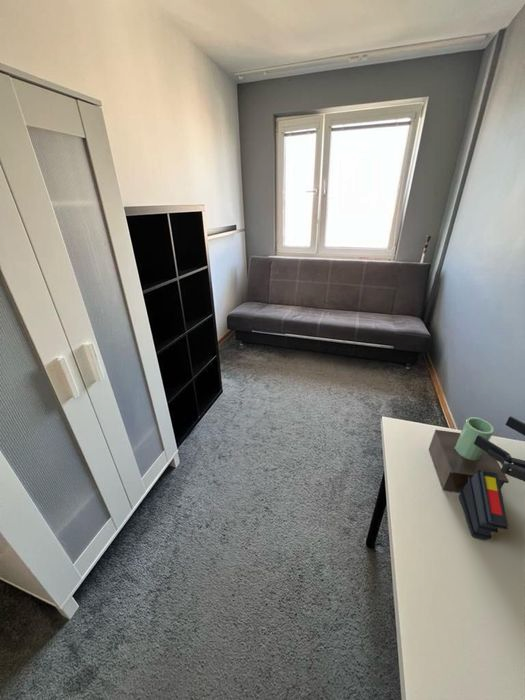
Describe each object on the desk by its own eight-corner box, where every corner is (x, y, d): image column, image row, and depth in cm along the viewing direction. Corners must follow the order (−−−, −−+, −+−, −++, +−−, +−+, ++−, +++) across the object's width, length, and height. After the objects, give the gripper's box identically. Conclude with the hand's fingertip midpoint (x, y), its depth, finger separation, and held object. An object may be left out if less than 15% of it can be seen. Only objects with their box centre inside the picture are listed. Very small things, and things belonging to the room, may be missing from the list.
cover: (507, 483, 70) (509, 481, 70) (451, 474, 73) (452, 472, 72) (481, 437, 83) (482, 435, 83) (434, 431, 86) (435, 429, 85)
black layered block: (470, 485, 76) (498, 472, 64) (479, 541, 69) (512, 538, 57) (455, 482, 77) (480, 468, 66) (461, 537, 70) (491, 533, 58)
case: (494, 499, 74) (506, 480, 71) (442, 490, 77) (450, 471, 74) (472, 456, 87) (481, 437, 83) (428, 449, 90) (434, 431, 86)
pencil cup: (475, 445, 80) (488, 418, 75) (484, 462, 75) (498, 435, 70) (452, 441, 81) (462, 415, 76) (459, 458, 76) (471, 431, 71)
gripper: (572, 543, 51) (456, 458, 68) (628, 485, 60) (514, 423, 77) (594, 519, 47) (466, 436, 64) (650, 461, 56) (525, 402, 73)
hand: (492, 429), depth 71 cm, fingers open, 13 cm apart
